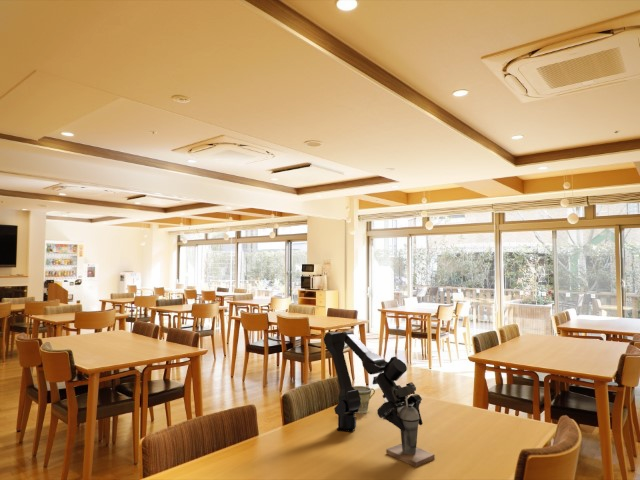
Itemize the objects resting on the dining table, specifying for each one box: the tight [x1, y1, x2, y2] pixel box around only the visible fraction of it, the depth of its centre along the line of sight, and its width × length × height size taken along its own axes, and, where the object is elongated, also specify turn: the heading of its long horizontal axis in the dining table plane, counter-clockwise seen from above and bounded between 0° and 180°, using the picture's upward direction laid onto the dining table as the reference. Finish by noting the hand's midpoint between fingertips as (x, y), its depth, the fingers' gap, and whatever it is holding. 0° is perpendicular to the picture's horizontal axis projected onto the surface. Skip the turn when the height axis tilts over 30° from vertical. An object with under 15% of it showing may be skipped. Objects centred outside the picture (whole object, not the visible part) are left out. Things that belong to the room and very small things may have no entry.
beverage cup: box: [398, 396, 420, 455], centre depth 150 cm, size 7×7×20 cm
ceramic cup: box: [352, 385, 376, 414], centre depth 197 cm, size 13×10×10 cm
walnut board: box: [385, 443, 436, 468], centre depth 149 cm, size 13×10×2 cm
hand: (413, 427), depth 149 cm, fingers open, 9 cm apart
